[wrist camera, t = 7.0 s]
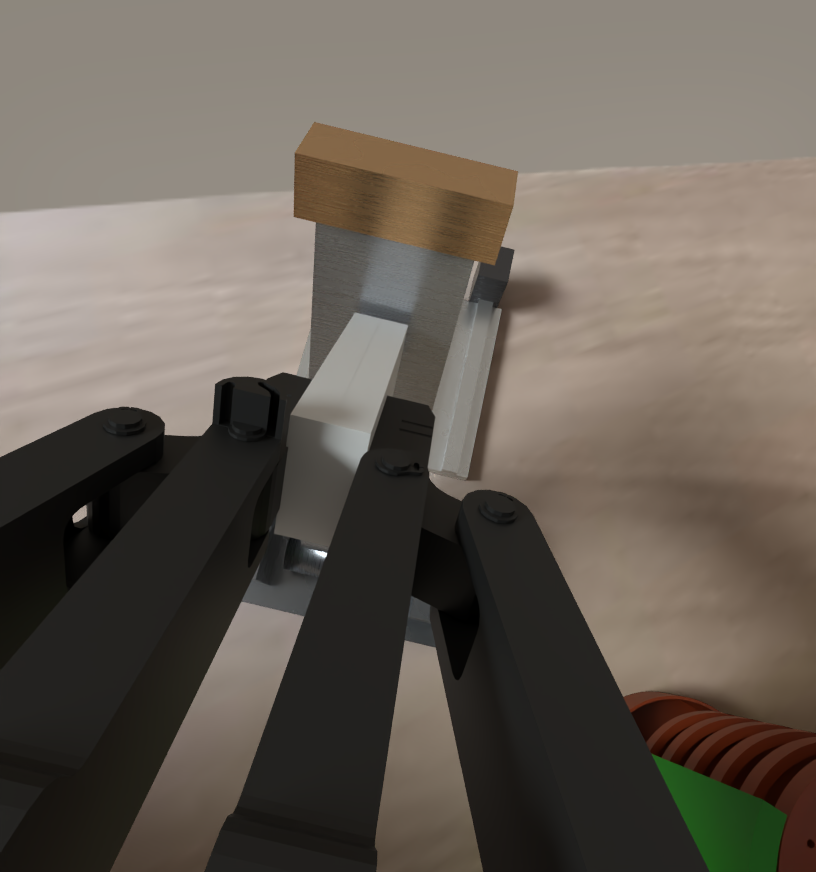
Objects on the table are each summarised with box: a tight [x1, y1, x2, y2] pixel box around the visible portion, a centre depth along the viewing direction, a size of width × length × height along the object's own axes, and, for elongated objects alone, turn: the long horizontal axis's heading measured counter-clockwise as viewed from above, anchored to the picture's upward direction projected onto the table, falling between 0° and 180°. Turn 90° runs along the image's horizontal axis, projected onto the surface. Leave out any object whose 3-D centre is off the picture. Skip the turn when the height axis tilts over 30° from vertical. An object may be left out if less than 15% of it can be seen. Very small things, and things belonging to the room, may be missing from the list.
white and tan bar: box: [283, 122, 518, 577], centre depth 22 cm, size 5×2×20 cm, turn 77°
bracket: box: [242, 247, 514, 647], centre depth 31 cm, size 11×20×5 cm, turn 167°
